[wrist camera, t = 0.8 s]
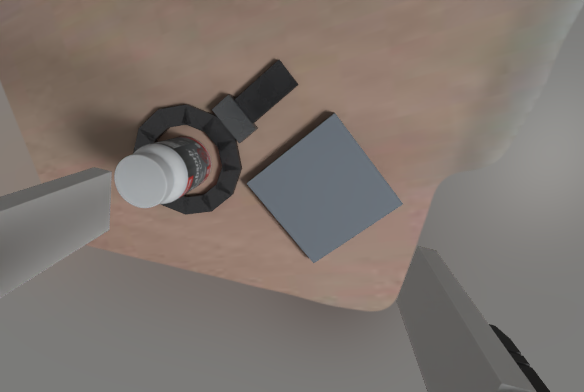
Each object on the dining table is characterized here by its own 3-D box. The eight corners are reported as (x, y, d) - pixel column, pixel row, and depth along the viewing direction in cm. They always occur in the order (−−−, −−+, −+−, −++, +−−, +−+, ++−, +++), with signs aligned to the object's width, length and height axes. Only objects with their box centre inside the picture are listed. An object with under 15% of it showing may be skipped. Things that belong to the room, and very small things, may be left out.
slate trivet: (248, 181, 36) (246, 183, 35) (334, 112, 33) (334, 113, 32) (314, 259, 38) (313, 263, 37) (400, 201, 35) (403, 203, 34)
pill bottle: (213, 186, 37) (175, 217, 28) (166, 184, 38) (112, 213, 28) (211, 136, 35) (169, 149, 26) (161, 134, 36) (102, 147, 26)
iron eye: (116, 152, 37) (111, 153, 36) (251, 22, 32) (248, 19, 31) (187, 230, 39) (184, 233, 38) (325, 120, 34) (325, 120, 33)
